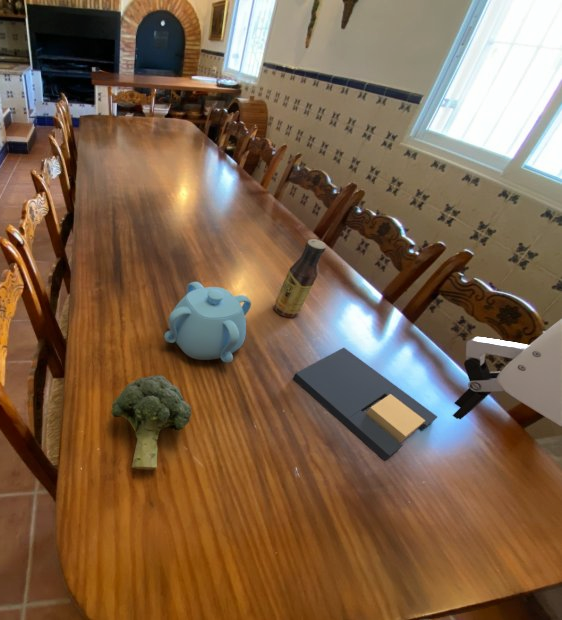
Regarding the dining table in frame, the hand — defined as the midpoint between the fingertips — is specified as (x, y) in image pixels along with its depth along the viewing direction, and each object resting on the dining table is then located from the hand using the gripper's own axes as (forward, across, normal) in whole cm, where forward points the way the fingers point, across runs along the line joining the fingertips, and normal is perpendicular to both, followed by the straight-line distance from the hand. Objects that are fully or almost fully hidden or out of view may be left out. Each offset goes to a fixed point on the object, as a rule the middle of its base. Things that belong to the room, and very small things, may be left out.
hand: (512, 448), depth 37 cm
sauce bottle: (+23, +44, -26) cm, 56 cm away
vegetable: (+24, +30, +23) cm, 45 cm away
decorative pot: (+23, +44, 0) cm, 50 cm away
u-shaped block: (+23, +18, -18) cm, 34 cm away
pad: (+24, +12, -18) cm, 32 cm away
